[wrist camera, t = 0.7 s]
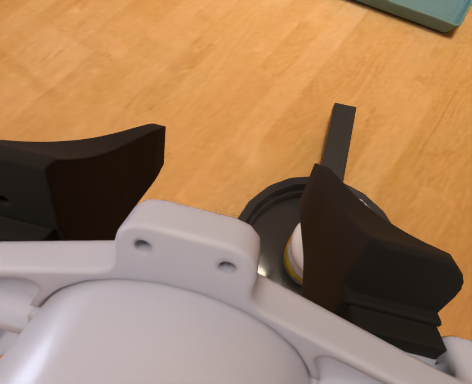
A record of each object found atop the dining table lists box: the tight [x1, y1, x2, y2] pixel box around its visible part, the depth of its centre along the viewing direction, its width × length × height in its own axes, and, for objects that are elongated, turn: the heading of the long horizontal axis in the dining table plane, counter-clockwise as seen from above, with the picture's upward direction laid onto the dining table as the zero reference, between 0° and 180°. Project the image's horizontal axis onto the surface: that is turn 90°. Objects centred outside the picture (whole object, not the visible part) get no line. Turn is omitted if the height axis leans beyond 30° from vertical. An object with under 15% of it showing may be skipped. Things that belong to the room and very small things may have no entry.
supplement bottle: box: [283, 223, 303, 286], centre depth 24 cm, size 5×5×10 cm
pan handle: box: [320, 103, 356, 182], centre depth 31 cm, size 10×2×1 cm, turn 163°
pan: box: [238, 177, 391, 296], centre depth 27 cm, size 16×16×3 cm
